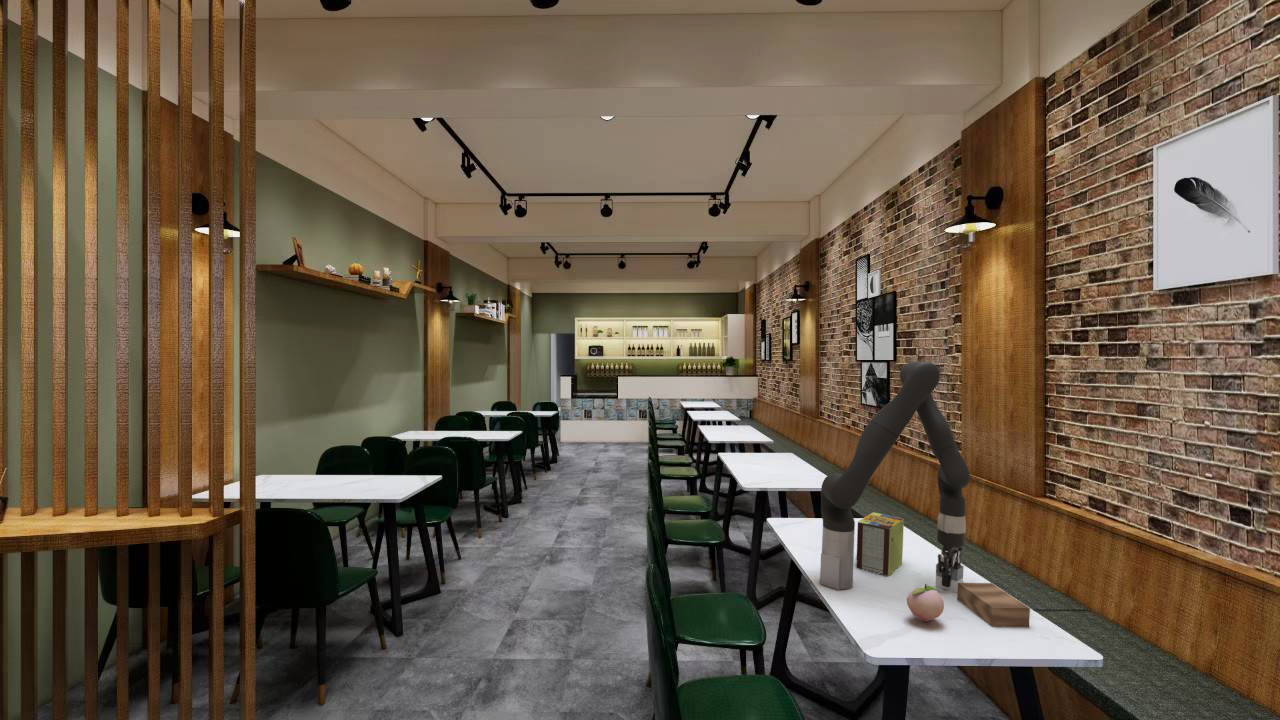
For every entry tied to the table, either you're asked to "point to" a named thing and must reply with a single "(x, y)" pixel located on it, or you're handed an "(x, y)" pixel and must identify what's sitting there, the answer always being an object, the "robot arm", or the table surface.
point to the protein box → (880, 543)
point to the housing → (954, 580)
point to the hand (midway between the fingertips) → (949, 583)
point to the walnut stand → (993, 605)
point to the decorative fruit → (925, 603)
